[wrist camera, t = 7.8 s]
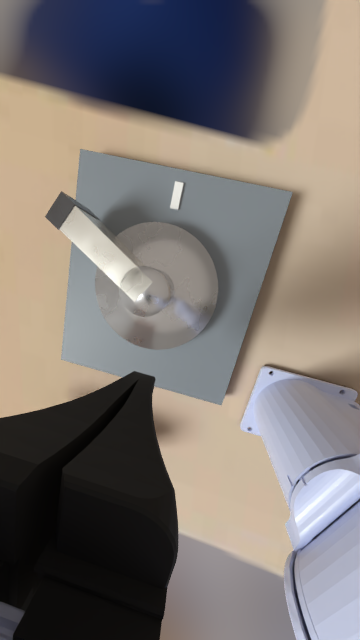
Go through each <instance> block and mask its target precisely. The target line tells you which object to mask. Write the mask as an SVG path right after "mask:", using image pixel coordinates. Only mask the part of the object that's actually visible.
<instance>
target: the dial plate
mask: <svg viewBox="0 0 360 640" xmlns="http://www.w3.org/2000/svg"><path fill="white" fill-rule="evenodd" d="M292 193H293V192H290V191H285V190H280V189H275V188H270V187H265V186H260V185H255V184H250V183H245V182H241V181H236V180H231V179H226V178H221V177H216V176H211V175H206V174H201V173H196V172H191V171H186V170H181V169H176V168H172V167H167V166H162V165H157V164H152V163H147V162H142V161H137V160H132V159H127V158H122V157H117V156H112V155H107V154H102V153H98V152H93V151H88V150H83V149H80V158H79V169H78V180H77V191H76V201H77V202H79V203H80V204H82V205H83V206H85V207H87V208H88V209H90V210H91V211H92V212H93V213H94V214H95V215H96V216H97V217H98V218H99V219H100V221H101V222H102V223H103V224H104V225H105V226H106V227H107V228H108V229H109V230H110V231H111V232H112V233H113V234H114V235H115V236H117V235H118V234H119V233H121V232H123V231H124V230H126V229H127V228H130V227H132V226H134V225H137V224H141V223H147V222H163V223H169V224H172V225H175V226H178V227H180V228H182V229H184V230H186V231H187V232H189V233H190V234H192V235H193V236H194V237H195V238H196V239H198V240H199V241H200V242H201V244H202V245H203V246H204V247H205V249H206V250H207V252H208V253H209V255H210V257H211V259H212V261H213V263H214V266H215V269H216V273H217V279H218V298H217V302H216V307H215V309H214V312H213V315H212V316H211V318H210V320H209V322H208V323H207V325H206V326H205V328H204V329H203V330H202V331H201V332H200V333H199V334H198V335H197V336H196V337H194V338H193V339H192V340H190V341H188V342H187V343H185V344H183V345H180V346H178V347H174V348H171V349H164V350H154V349H147V348H142V347H139V346H136V345H134V344H132V343H130V342H128V341H126V340H125V339H123V338H122V337H121V336H119V335H118V334H117V333H116V332H115V331H114V330H113V329H112V328H111V327H110V325H109V324H108V323H107V321H106V320H105V318H104V316H103V315H102V313H101V310H100V308H99V305H98V302H97V298H96V292H95V275H96V270H97V265H96V264H95V263H94V262H93V261H92V260H91V259H90V258H89V257H87V256H86V255H85V254H84V253H83V252H82V251H81V250H80V249H79V248H78V247H77V246H76V245H75V244H74V243H73V242H72V246H71V257H70V268H69V279H68V290H67V301H66V312H65V323H64V334H63V345H62V356H61V360H64V361H68V362H71V363H75V364H78V365H82V366H85V367H89V368H92V369H96V370H99V371H103V372H106V373H110V374H113V375H117V376H120V377H124V376H126V375H128V374H130V373H131V372H133V371H136V372H140V373H143V374H147V375H150V376H154V377H155V379H156V380H155V384H154V386H155V387H159V388H162V389H166V390H169V391H173V392H176V393H180V394H183V395H187V396H190V397H194V398H197V399H201V400H204V401H208V402H211V403H215V404H218V405H222V402H223V399H224V396H225V393H226V390H227V387H228V384H229V381H230V378H231V375H232V372H233V369H234V366H235V363H236V360H237V357H238V354H239V351H240V348H241V345H242V342H243V339H244V336H245V334H246V331H247V328H248V325H249V322H250V319H251V316H252V313H253V310H254V307H255V304H256V301H257V298H258V295H259V292H260V289H261V286H262V283H263V280H264V277H265V274H266V271H267V268H268V265H269V262H270V259H271V256H272V253H273V250H274V247H275V244H276V241H277V238H278V235H279V232H280V229H281V226H282V223H283V220H284V217H285V214H286V211H287V208H288V205H289V202H290V199H291V196H292Z"/></svg>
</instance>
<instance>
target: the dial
mask: <svg viewBox="0 0 360 640" xmlns="http://www.w3.org/2000/svg"><path fill="white" fill-rule="evenodd" d="M45 217H46V218H47V219H48V220H49V221H50V222H51V223H52V224H53V225H54V226H55V227H56V228H57V229H59V230H61V231H62V232H63V233H64V234H65V235H66V236H67V237H68V238H69V239H70V240H71V241H72V242H73V243H74V244H75V245H76V246H77V247H78V248H79V249H80V250H81V251H82V252H83V253H84V254H85V255H86V256H87V257H89V258H90V259H91V260H92V261H93V262H94V263H95V264H96V265H97V270H96V275H95V292H96V298H97V302H98V305H99V308H100V310H101V313H102V315H103V316H104V318H105V320H106V321H107V323H108V324H109V325H110V327H111V328H112V329H113V330H114V331H115V332H116V333H117V334H118V335H119V336H121V337H122V338H123V339H125V340H126V341H128V342H130V343H132V344H134V345H136V346H139V347H142V348H147V349H154V350H164V349H171V348H174V347H178V346H180V345H183V344H185V343H187V342H188V341H190V340H192V339H193V338H194V337H196V336H197V335H198V334H199V333H200V332H201V331H202V330H203V329H204V328H205V326H206V325H207V323H208V322H209V320H210V318H211V316H212V315H213V312H214V309H215V307H216V302H217V298H218V279H217V273H216V269H215V266H214V263H213V261H212V259H211V257H210V255H209V253H208V252H207V250H206V249H205V247H204V246H203V245H202V244H201V242H200V241H199V240H198V239H196V238H195V237H194V236H193V235H192V234H190V233H189V232H187V231H186V230H184V229H182V228H180V227H178V226H175V225H172V224H169V223H163V222H147V223H141V224H137V225H134V226H132V227H130V228H127V229H126V230H124V231H123V232H121V233H119V234H118V235H117V236H115V235H114V234H113V233H112V232H111V231H110V230H109V229H108V228H107V227H106V226H105V225H104V224H103V223H102V222H101V221H100V219H99V218H98V217H97V216H96V215H95V214H94V213H93V212H92V211H91V210H90V209H88V208H87V207H85V206H83V205H82V204H80V203H79V202H77V201H76V200H74V199H73V198H71V197H70V196H68V195H66V194H65V193H63V192H62V191H61V193H60V194H59V196H58V197H57V199H56V201H55V202H54V204H53V205H52V207H51V208H50V210H49V211H48V213H47V215H46V216H45Z"/></svg>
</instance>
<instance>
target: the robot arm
mask: <svg viewBox="0 0 360 640" xmlns="http://www.w3.org/2000/svg"><path fill="white" fill-rule="evenodd" d="M270 371H273V373H271V374H269V372H270ZM155 380H156V379H155V377H154V376H150V375H147V374H143V373H140V372H136V371H133V372H131V373H130V374H128V375H126V376H124V377H122V378H121V379H119V380H117V381H115V382H113V383H111V384H110V385H108V386H106V387H103V388H101V389H99V390H97V391H95V392H93V393H90V394H88V395H86V396H83V397H80V398H78V399H75V400H72V401H69V402H66V403H63V404H59V405H56V406H52V407H49V408H46V409H42V410H37V411H33V412H29V413H24V414H20V415H15V416H9V417H4V418H0V640H159V639H160V630H161V622H162V619H163V616H164V611H165V603H166V593H167V586H168V583H169V580H170V577H171V574H172V571H173V569H174V566H175V563H176V559H177V553H178V519H177V508H176V499H175V491H174V488H173V485H172V483H171V480H170V478H169V475H168V473H167V470H166V467H165V464H164V461H163V458H162V455H161V452H160V448H159V445H158V441H157V437H156V432H155V427H154V421H153V411H152V393H153V389H154V384H155ZM340 390H342V391H341V392H340ZM357 396H358V393H357V392H356V391H355V390H354V389H351V388H348V387H344V386H340V385H336V384H333V383H329V382H325V381H321V380H318V379H314V378H310V377H306V376H303V375H299V374H295V373H291V372H288V371H284V370H280V369H276V368H273V367H269V366H263V367H262V368H261V370H260V372H259V375H258V378H257V380H256V383H255V386H254V389H253V391H252V394H251V397H250V399H249V402H248V405H247V407H246V410H245V413H244V415H243V418H242V421H241V423H240V427H241V430H242V431H245V432H248V433H252V434H255V435H259V436H261V437H262V439H263V442H264V445H265V447H266V450H267V452H268V455H269V458H270V460H271V463H272V465H273V468H274V470H275V473H276V476H277V478H278V481H279V483H280V486H281V489H282V491H283V494H284V496H285V499H286V502H287V504H288V507H289V509H290V512H291V515H290V518H289V520H288V521H287V522H286V524H285V526H286V529H287V532H288V535H289V538H290V541H291V544H292V546H293V549H294V551H292V552H291V553H290V554H289V555H288V557H287V560H286V562H285V568H284V586H285V595H286V600H287V605H288V609H289V615H290V618H291V622H292V625H293V629H294V633H295V636H296V639H297V640H360V405H359V404H357V403H356V402H355V400H356V398H357ZM248 427H251V428H248Z"/></svg>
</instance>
